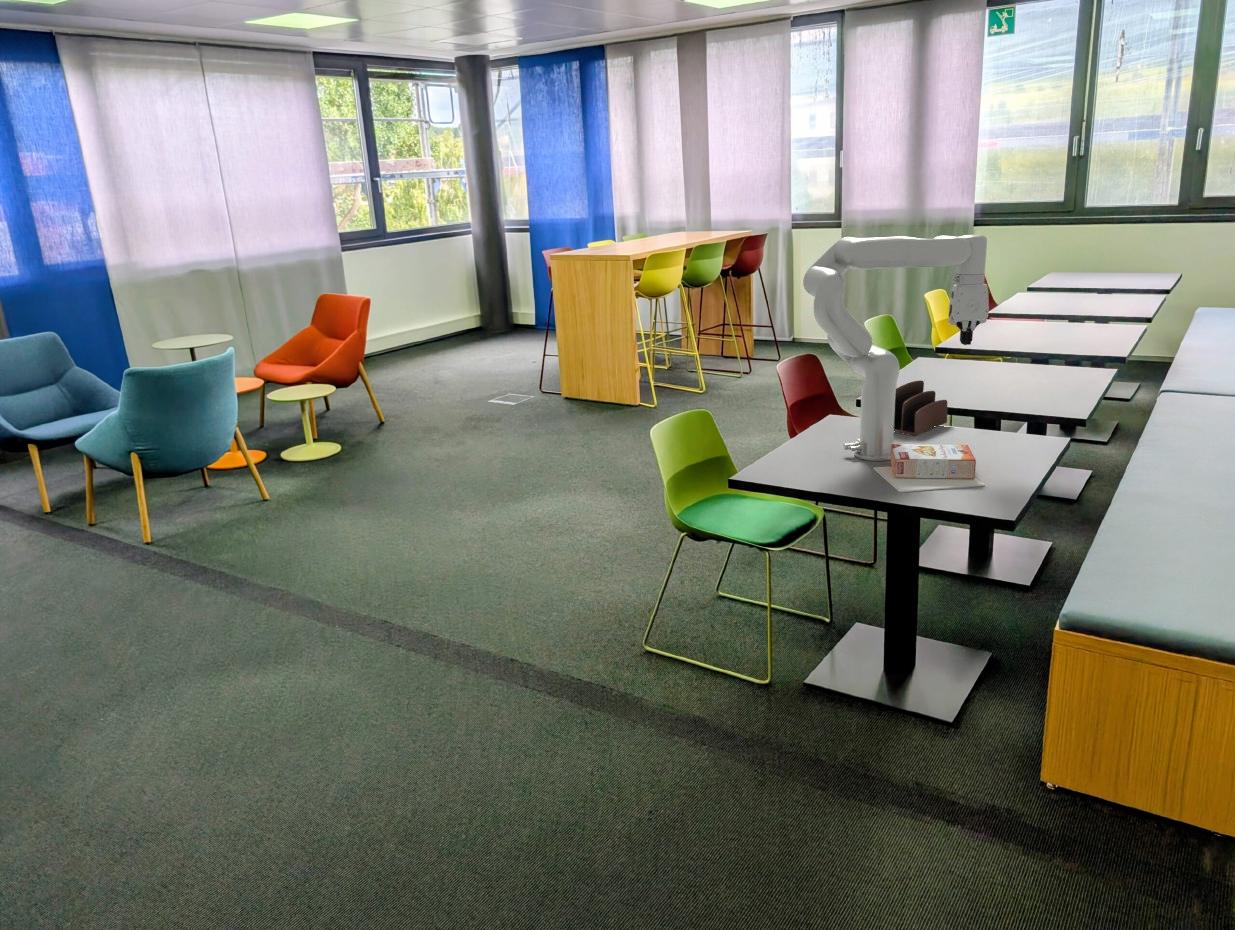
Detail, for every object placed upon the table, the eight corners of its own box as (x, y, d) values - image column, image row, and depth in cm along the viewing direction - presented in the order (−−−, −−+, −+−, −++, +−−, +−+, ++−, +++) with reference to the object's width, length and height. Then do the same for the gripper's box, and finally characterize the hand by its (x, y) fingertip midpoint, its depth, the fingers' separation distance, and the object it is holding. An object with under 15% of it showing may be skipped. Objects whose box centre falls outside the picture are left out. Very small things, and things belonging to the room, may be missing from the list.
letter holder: (887, 431, 292) (888, 388, 288) (919, 418, 305) (921, 377, 300) (915, 436, 285) (917, 393, 281) (947, 423, 298) (950, 381, 293)
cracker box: (976, 458, 242) (894, 458, 246) (975, 479, 244) (894, 479, 248) (967, 442, 255) (890, 443, 259) (966, 463, 257) (889, 463, 261)
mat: (899, 492, 239) (899, 491, 238) (873, 468, 258) (873, 467, 257) (984, 486, 240) (984, 484, 240) (952, 462, 259) (952, 461, 259)
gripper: (949, 283, 253) (945, 348, 259) (1002, 279, 254) (997, 344, 260) (938, 280, 260) (935, 343, 266) (989, 276, 261) (985, 340, 267)
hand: (965, 344), depth 263 cm, fingers closed
